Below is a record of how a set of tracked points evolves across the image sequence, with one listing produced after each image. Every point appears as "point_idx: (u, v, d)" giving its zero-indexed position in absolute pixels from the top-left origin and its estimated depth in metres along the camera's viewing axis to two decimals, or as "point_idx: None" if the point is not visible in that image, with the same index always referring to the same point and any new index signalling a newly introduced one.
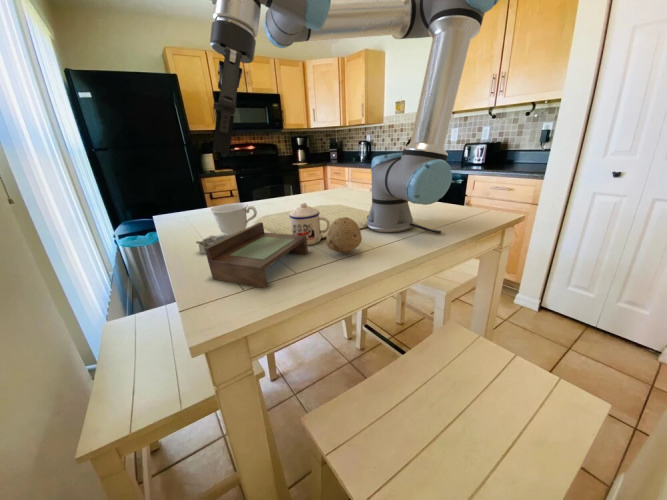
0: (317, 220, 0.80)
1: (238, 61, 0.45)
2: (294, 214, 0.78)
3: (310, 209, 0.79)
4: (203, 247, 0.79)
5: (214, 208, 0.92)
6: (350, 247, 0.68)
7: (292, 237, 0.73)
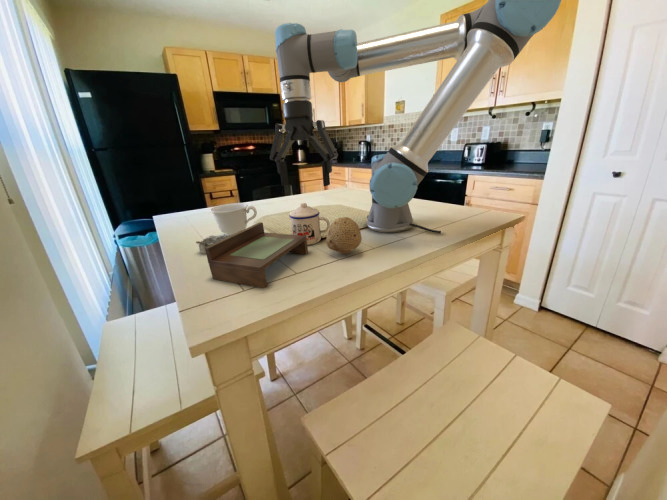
0: (317, 220, 0.80)
1: (324, 126, 0.70)
2: (294, 214, 0.78)
3: (310, 209, 0.79)
4: (203, 247, 0.79)
5: (214, 208, 0.92)
6: (350, 247, 0.68)
7: (292, 237, 0.73)
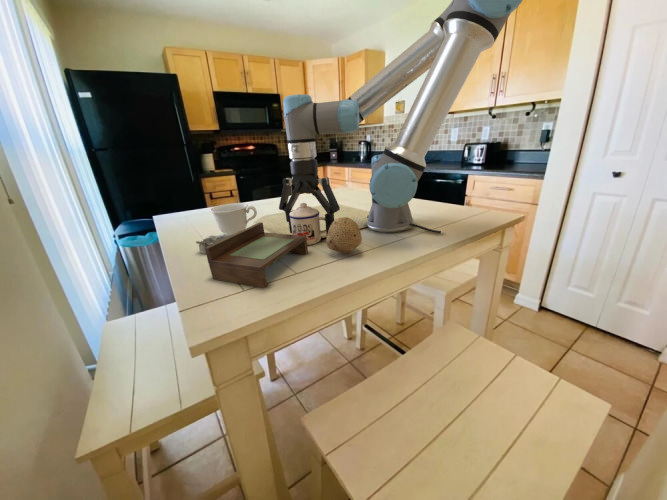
0: (317, 220, 0.80)
1: (328, 183, 0.76)
2: (294, 214, 0.78)
3: (310, 209, 0.79)
4: (203, 247, 0.79)
5: (214, 208, 0.92)
6: (350, 247, 0.68)
7: (292, 237, 0.73)
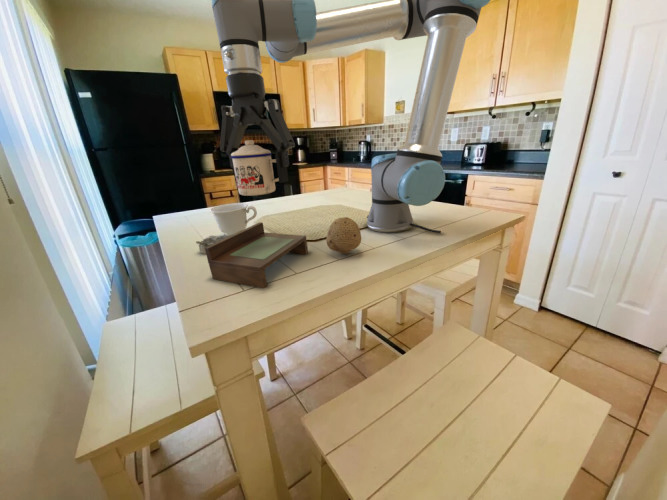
0: (267, 162, 0.61)
1: (279, 108, 0.56)
2: (235, 152, 0.59)
3: (257, 147, 0.60)
4: (203, 247, 0.79)
5: (214, 208, 0.92)
6: (350, 247, 0.68)
7: (292, 237, 0.73)
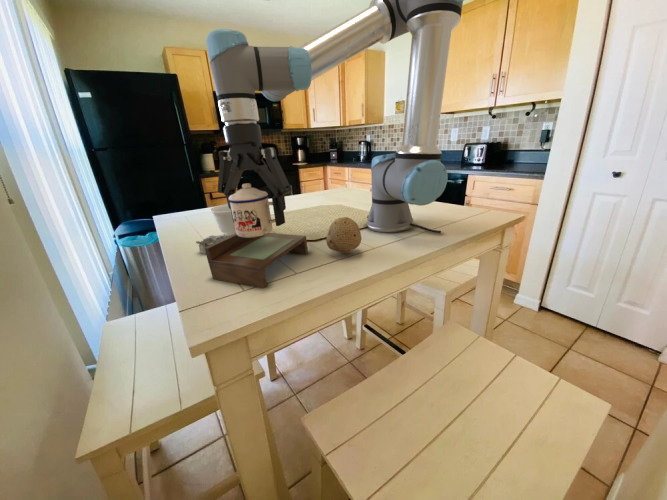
0: (264, 205, 0.62)
1: (275, 155, 0.58)
2: (233, 197, 0.60)
3: (255, 191, 0.61)
4: (203, 247, 0.79)
5: (214, 208, 0.92)
6: (350, 247, 0.68)
7: (292, 237, 0.73)
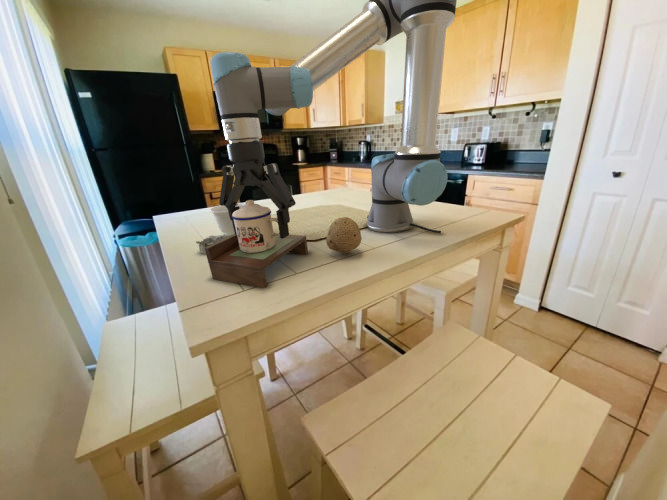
0: (267, 221, 0.63)
1: (278, 170, 0.59)
2: (236, 214, 0.62)
3: (258, 208, 0.63)
4: (203, 247, 0.79)
5: (214, 208, 0.92)
6: (350, 247, 0.68)
7: (292, 237, 0.73)
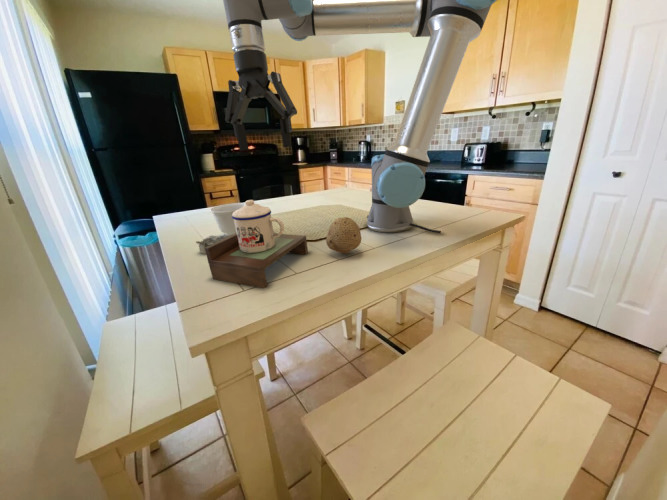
0: (267, 221, 0.63)
1: (281, 80, 0.64)
2: (236, 214, 0.62)
3: (258, 208, 0.63)
4: (203, 247, 0.79)
5: (214, 208, 0.92)
6: (350, 247, 0.68)
7: (292, 237, 0.73)
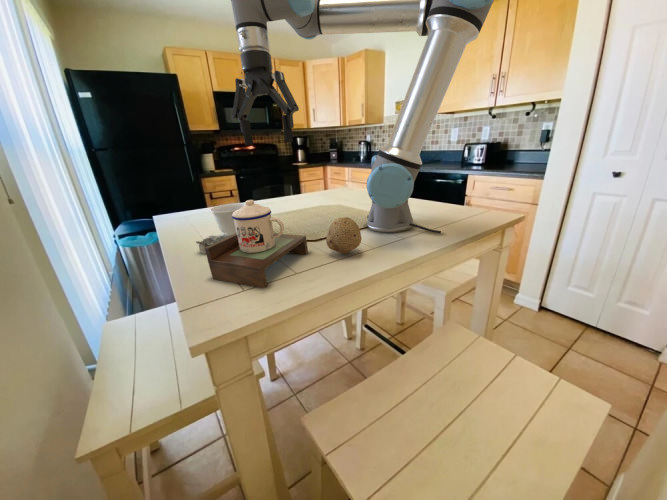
0: (267, 221, 0.63)
1: (284, 78, 0.69)
2: (236, 214, 0.62)
3: (258, 208, 0.63)
4: (203, 247, 0.79)
5: (214, 208, 0.92)
6: (350, 247, 0.68)
7: (292, 237, 0.73)
